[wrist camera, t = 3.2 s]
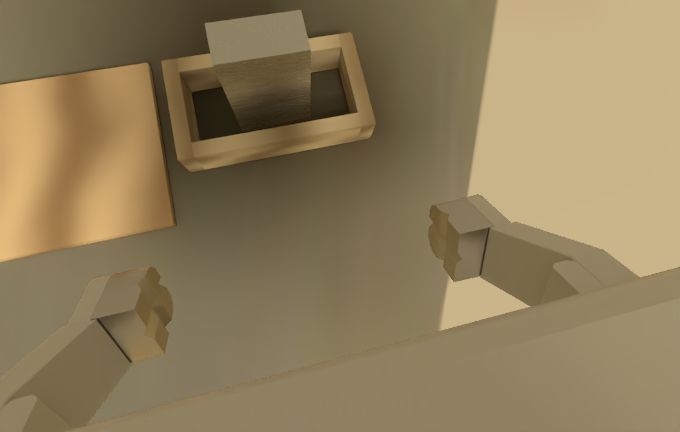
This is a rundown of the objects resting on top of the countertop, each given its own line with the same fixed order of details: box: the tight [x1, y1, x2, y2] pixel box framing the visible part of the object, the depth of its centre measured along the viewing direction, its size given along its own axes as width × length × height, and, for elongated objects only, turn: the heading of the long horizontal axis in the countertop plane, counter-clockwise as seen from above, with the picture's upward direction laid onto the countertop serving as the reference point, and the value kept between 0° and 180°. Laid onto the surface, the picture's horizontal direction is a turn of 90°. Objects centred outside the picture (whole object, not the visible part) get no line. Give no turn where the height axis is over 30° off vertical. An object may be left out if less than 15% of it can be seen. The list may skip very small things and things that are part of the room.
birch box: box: [161, 32, 376, 172], centre depth 25 cm, size 13×7×2 cm, turn 103°
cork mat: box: [0, 63, 176, 262], centre depth 24 cm, size 12×12×1 cm
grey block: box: [205, 10, 311, 132], centre depth 22 cm, size 5×2×8 cm, turn 103°
